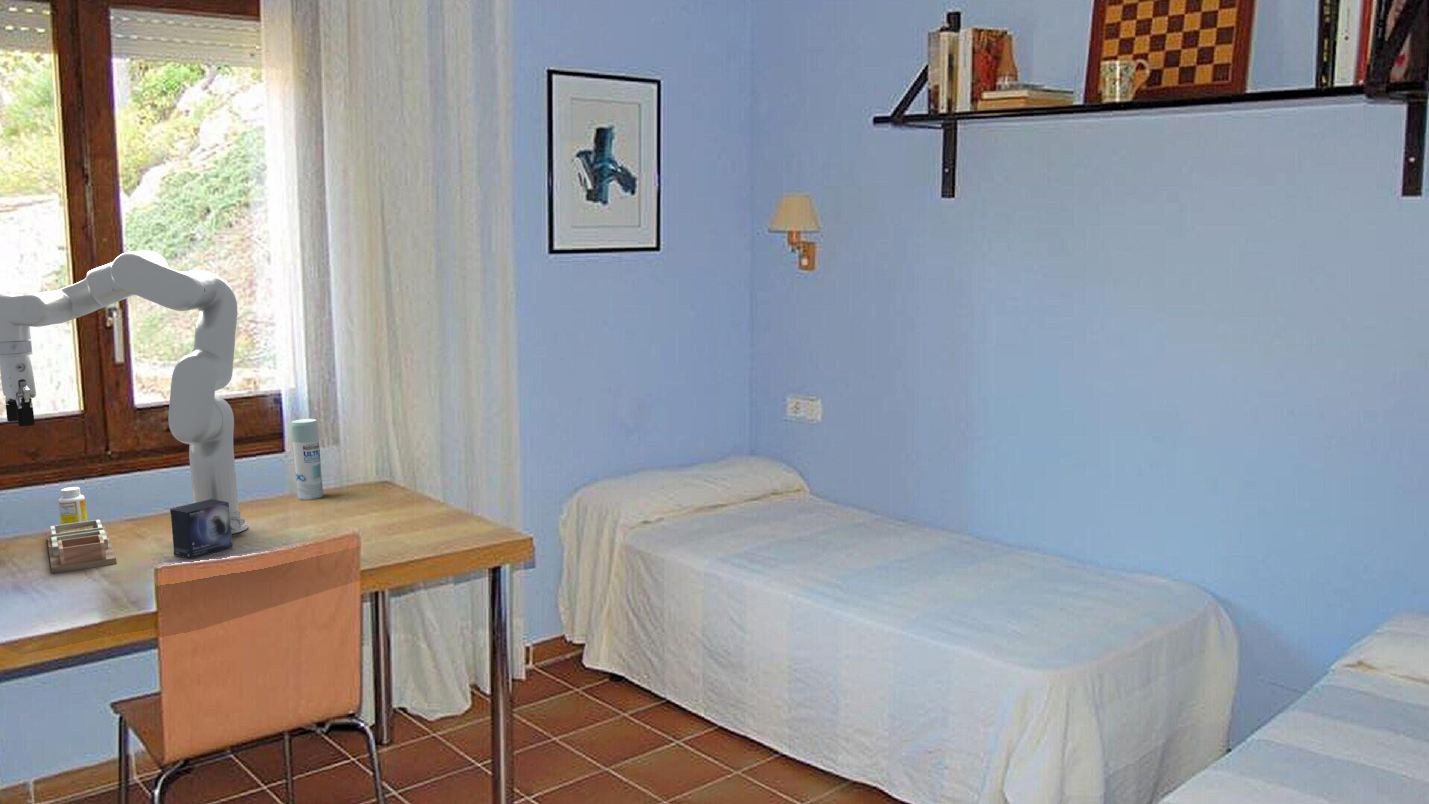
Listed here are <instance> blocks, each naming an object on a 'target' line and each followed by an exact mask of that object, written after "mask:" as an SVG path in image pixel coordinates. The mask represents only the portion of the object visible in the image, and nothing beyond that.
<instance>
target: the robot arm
mask: <svg viewBox="0 0 1429 804" xmlns="http://www.w3.org/2000/svg"><path fill="white" fill-rule="evenodd" d="M134 296H138V297H140V298H142V299H145V300H147V301H150V302H152V303H154V304H157V305H160V306H162V307H164V308H167V309H171V310H173V311H179V312H184V311H185V312H186V311H191V310H198V312H199V315H198V319H197V322H196V325H195V331H194V342H193V347H192V348H193V349H192V352H191V353H189V354H187V355H184V356H183V357H181V359H179V361H178V362H177V363H176V365H175V366H174V369H173V372H172V375H171V383H170V395H169V405H168V416H167V417H168V427H169V430H170V432H171V434H172V436H173V438H175V439H176V440H177V441H179V442H181V443H183V444H186V445H189V447H188V448H189V449H188V450H189V451H188V456H189V457H188V459H189V466H190V467H189V470H190V480H191V489H192V498H193V499H192V501H193V503H197V502H201V501H205V500H210V499H214V500H219V501H224V502H229V514H230V526H231V535H234V534H238V533H241V532H243V531H246V530H247V529H248V526H249V523H248V522H247V521H246V520H245V519H244V518H242V517H241V511H240V506H239V505H240V504H239V496H238V486H237V485H238V483H237V476H236V465H235V464H236V463H235V460H236V459H235V450H234V433H235V432H234V430H235V418H234V417H235V416H234V411H233V409H232V407H231V405H230V404H229V403H228V402H227V401H226V400H225V399H224V398H222V397H220V396H218V395H216V392H217V391H219V390H222V389H224V388H226V387H227V386H228V385H229V384H230V382H231V380H232V377H233V370H234V369H233V368H234V360H235V359H234V357H235V346H236V332H237V331H236V330H237V324H238V322H237V321H238V302H237V298H236V297H237V296H236V295H235V293H234V290H233V289H232V287H231V286H230V285H229V284H228V282H227V281H226V280H224V279H223V278H221V276H219V275H217V274H215V273H212V272H211V271H205V270H188V271H178V270H175V269H173V268H171V267H169V265H168V263H167V260H166V259H165V258H164V257H163V256H162V255H161V254H159V253H157V252H155V251H152V250H138V251H137V250H135V251H133V250H132V251H127V252H124V253H121V254H119V255H118V256H117V257H116V258H115V259H114V260H113V261H111V262H109V263H106V264H104V265H101V266H98V267H95V268H93V269H91V270H89V271H87V273H86V276H85V278H84V279H82V280H80V281H78V282H76V283H74V284H70V285H67V286H65V287H62V288H59V289H56V290H52V291H51V290H49V291H40V292H32V293H27V294H20V293H5V294H4V293H2V294H0V381H1V382H0V383H1V390H2V393H3V396H4V397H5V410H6V411H5V413H6V419H7V422H10V423H11V422H17V425H18V426H19V427H28V426H34V425H35V424H36V423H35V414H34V406H33V405H34V404H33V402H32V400H33V398H36V397H37V390H36V384H35V376H34V372H33V365H32V361H31V357H30V355H33V346H32V337H31V328H30V327H32V328H35V327H37V328H40V327H45V326H51V325H59V324H63V323H66V322H70V321H72V320H75V319H77V318H80V317H83V316H86V315H88V314H92V313H94V312H96V311H98V310H100V309H104V308H107V307H108V306H110V305H113V304H115V303H118V302H121V301H123V300H126V299H128V298H131V297H134Z"/></svg>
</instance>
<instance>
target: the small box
mask: <svg viewBox="0 0 1429 804" xmlns="http://www.w3.org/2000/svg"><path fill="white" fill-rule="evenodd" d="M169 513H170V518H171V531H172V532H171V534H172V543H173V544H172V545H173V556H176V557H180V558H181V557H182V558H187V559H195V558H199V557H202V556H206V555H209V554H213V553H217V552H222V551H225V550H228V549H232V548H233V540H232V539H233V538H232V534H231V526H230V514H229V502H224V501H219V500H214V499H210V500H205V501H201V502H197V503H194V502H193V503H190V504H183V505H180V506H175V507H172V508H170V509H169Z"/></svg>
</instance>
